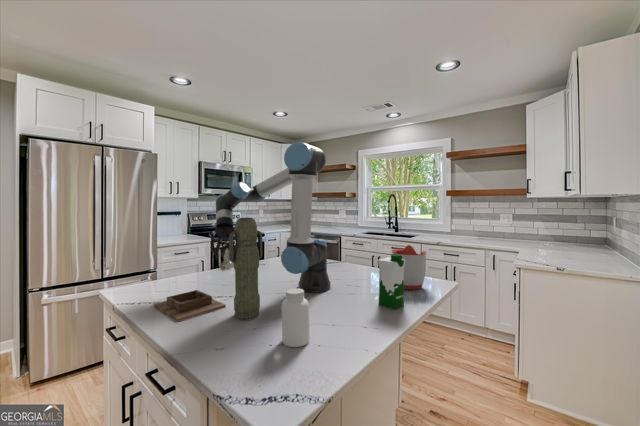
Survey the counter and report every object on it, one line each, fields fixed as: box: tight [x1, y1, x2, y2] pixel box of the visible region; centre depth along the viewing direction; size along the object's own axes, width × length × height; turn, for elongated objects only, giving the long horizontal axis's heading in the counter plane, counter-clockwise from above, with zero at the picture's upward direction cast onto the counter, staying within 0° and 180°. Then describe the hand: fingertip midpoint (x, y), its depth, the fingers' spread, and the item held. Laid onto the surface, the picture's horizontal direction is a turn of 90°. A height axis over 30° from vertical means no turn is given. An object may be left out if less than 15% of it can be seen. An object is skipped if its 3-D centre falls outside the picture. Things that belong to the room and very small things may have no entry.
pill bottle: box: [281, 287, 310, 348], centre depth 85 cm, size 8×8×15 cm
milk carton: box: [377, 254, 405, 310], centre depth 114 cm, size 9×9×20 cm
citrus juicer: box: [391, 244, 427, 291], centre depth 138 cm, size 16×17×20 cm
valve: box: [218, 240, 236, 272], centre depth 125 cm, size 7×7×12 cm
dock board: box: [153, 289, 226, 323], centre depth 113 cm, size 22×18×4 cm
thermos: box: [228, 217, 263, 321], centre depth 104 cm, size 9×12×35 cm
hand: (226, 263), depth 121 cm, fingers closed on valve, 4 cm apart
